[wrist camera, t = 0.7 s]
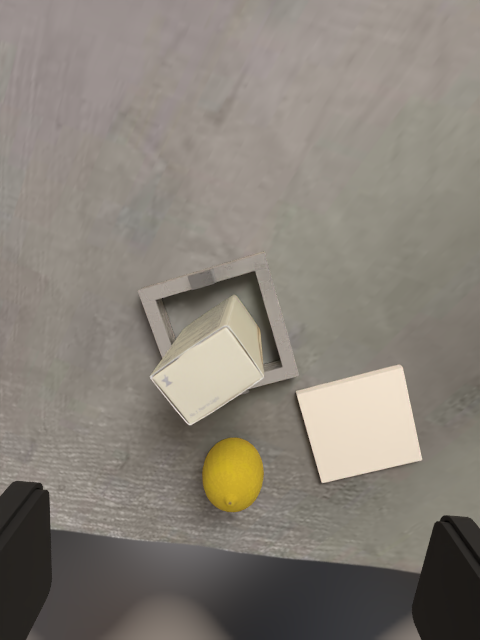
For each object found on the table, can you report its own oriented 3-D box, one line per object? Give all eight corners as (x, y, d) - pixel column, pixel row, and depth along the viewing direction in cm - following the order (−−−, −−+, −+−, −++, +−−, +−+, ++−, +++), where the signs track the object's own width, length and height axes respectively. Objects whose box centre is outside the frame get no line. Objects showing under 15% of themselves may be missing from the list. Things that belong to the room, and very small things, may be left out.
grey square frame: (264, 251, 34) (265, 253, 31) (296, 367, 36) (300, 379, 34) (144, 286, 35) (134, 292, 32) (183, 397, 37) (178, 411, 35)
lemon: (230, 412, 38) (224, 461, 30) (273, 444, 38) (278, 500, 31) (196, 450, 39) (182, 506, 31) (239, 480, 40) (235, 543, 32)
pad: (399, 364, 36) (402, 367, 35) (418, 455, 38) (422, 459, 37) (295, 391, 37) (296, 394, 36) (320, 478, 39) (321, 483, 38)
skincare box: (208, 364, 37) (187, 431, 25) (180, 327, 36) (145, 378, 24) (263, 328, 35) (267, 380, 24) (235, 289, 35) (226, 323, 23)
